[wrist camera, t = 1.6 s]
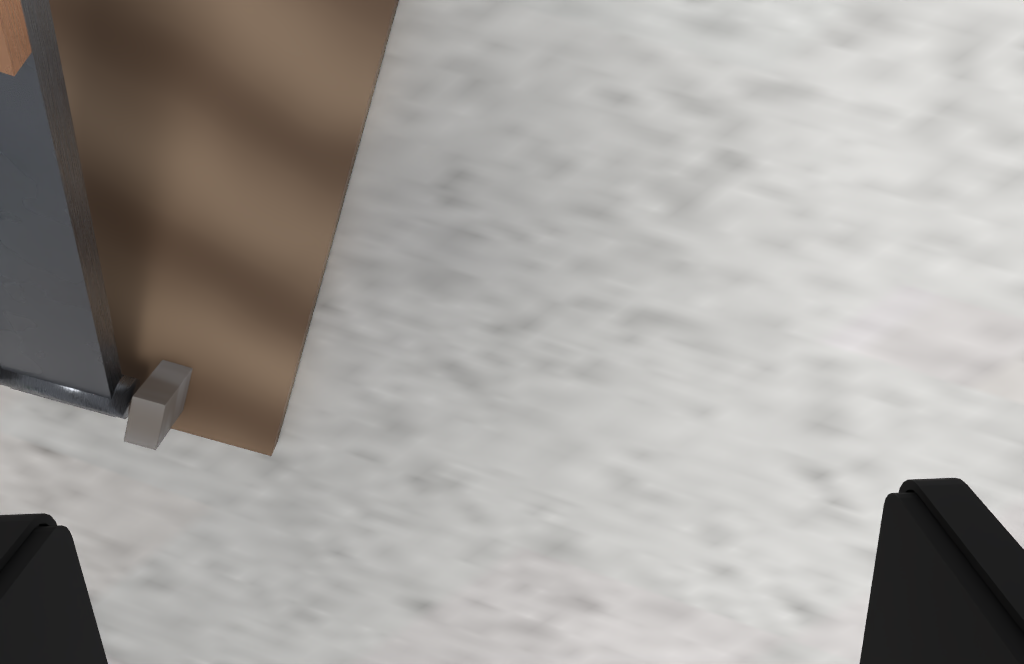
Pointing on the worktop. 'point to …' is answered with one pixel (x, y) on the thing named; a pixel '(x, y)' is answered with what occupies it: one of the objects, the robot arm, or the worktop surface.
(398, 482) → the worktop surface
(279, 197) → the latch board
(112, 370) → the strap
